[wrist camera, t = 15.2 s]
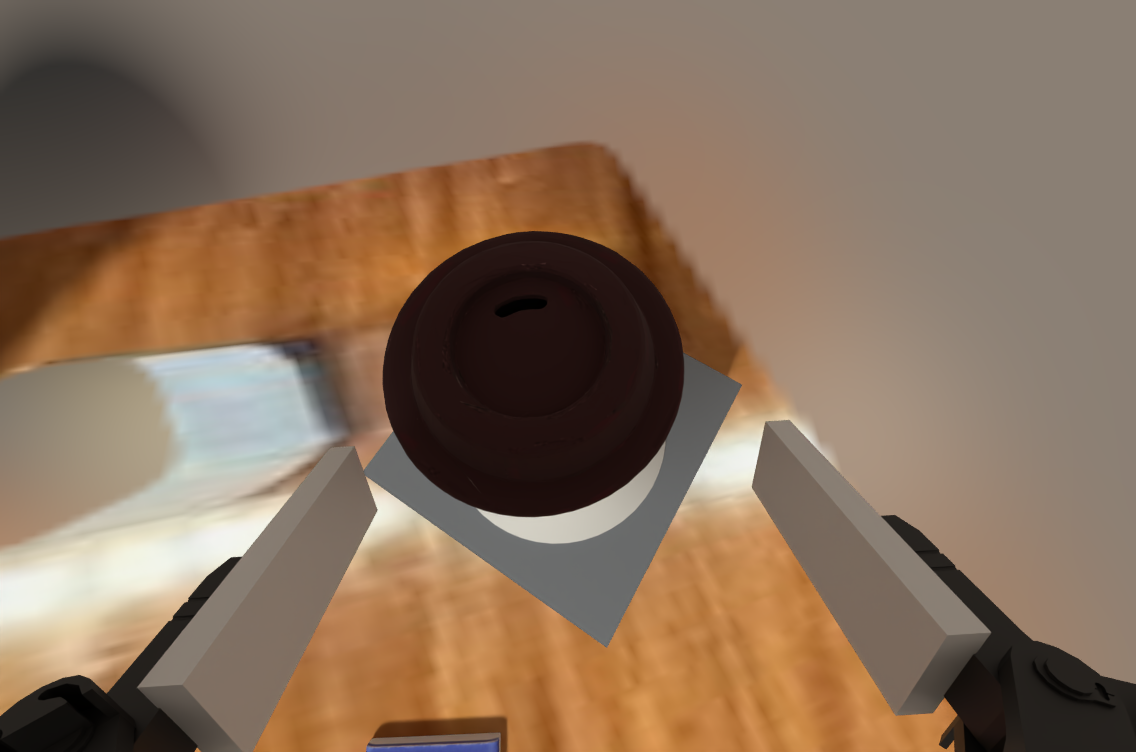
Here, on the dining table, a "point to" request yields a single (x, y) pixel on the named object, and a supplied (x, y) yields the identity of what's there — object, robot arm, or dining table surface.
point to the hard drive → (438, 743)
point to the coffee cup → (533, 374)
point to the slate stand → (580, 516)
